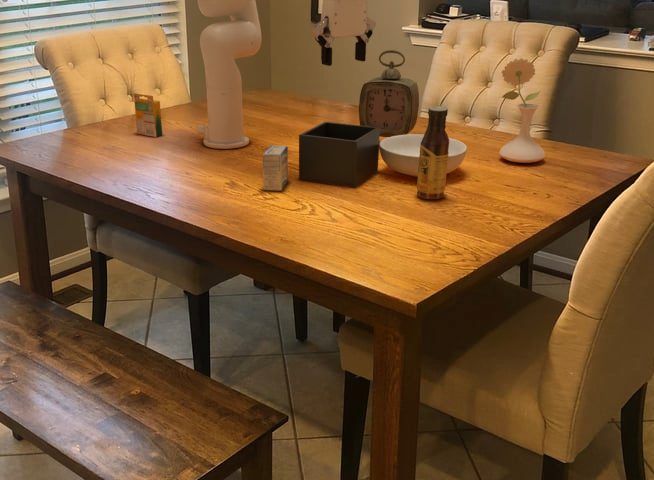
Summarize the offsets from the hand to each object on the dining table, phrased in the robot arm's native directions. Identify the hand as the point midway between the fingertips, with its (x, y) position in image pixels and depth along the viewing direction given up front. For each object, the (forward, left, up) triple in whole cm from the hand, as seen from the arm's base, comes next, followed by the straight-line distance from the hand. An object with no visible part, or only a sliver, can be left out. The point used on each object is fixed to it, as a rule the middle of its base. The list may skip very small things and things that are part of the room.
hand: (343, 62), depth 188 cm
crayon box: (-64, +10, -26) cm, 70 cm away
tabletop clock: (+2, +28, -26) cm, 38 cm away
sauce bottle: (+26, -9, -26) cm, 38 cm away
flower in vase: (+37, +29, -26) cm, 54 cm away
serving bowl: (+18, +8, -26) cm, 33 cm away
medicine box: (-9, -17, -26) cm, 32 cm away
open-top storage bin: (+1, -3, -26) cm, 26 cm away
